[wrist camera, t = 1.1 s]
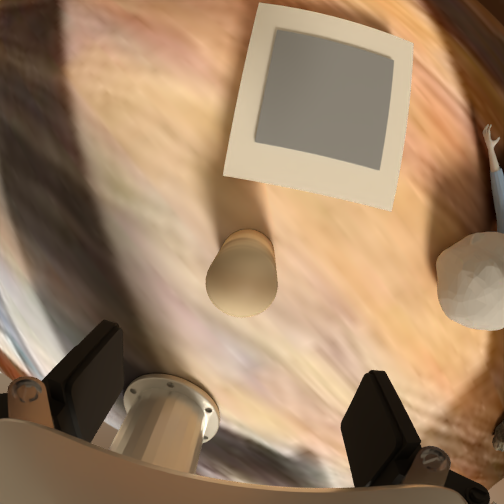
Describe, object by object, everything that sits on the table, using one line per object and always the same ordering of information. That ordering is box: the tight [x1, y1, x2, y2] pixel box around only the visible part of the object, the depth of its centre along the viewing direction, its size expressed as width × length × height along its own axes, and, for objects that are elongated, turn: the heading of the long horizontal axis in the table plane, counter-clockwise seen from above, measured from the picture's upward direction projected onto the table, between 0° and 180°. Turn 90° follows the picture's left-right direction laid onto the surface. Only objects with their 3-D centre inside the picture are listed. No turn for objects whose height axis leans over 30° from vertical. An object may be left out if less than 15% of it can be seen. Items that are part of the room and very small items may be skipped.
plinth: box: [223, 3, 413, 211], centre depth 23 cm, size 16×14×4 cm
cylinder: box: [206, 229, 278, 317], centre depth 25 cm, size 5×5×8 cm
